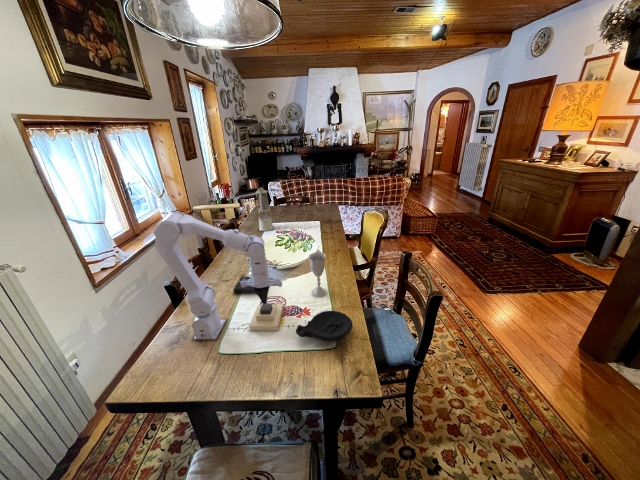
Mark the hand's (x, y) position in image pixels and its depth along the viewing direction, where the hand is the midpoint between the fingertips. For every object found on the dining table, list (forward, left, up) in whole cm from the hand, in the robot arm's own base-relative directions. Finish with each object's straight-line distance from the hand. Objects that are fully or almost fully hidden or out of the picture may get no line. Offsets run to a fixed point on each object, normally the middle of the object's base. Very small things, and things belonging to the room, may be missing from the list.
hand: (264, 302), depth 94 cm
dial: (+22, +14, -5) cm, 27 cm away
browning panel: (+22, +14, -8) cm, 27 cm away
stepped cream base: (0, 0, -8) cm, 8 cm away
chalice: (+16, -19, -8) cm, 26 cm away
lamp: (+94, +24, -8) cm, 97 cm away
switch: (0, 0, -4) cm, 4 cm away
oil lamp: (-8, -22, -8) cm, 25 cm away
